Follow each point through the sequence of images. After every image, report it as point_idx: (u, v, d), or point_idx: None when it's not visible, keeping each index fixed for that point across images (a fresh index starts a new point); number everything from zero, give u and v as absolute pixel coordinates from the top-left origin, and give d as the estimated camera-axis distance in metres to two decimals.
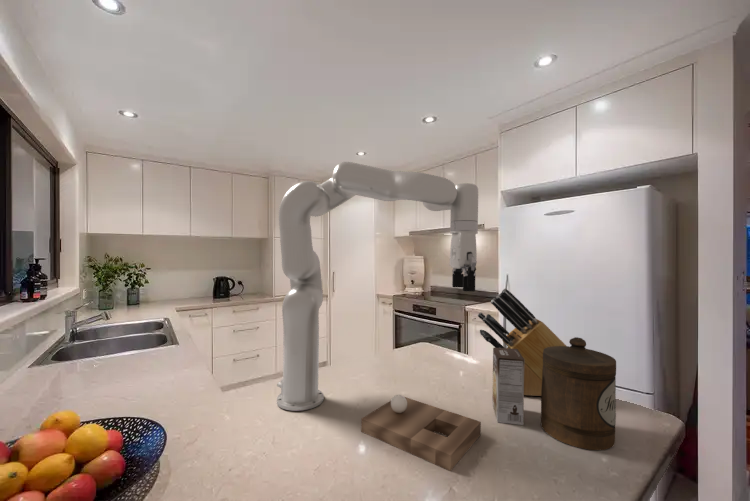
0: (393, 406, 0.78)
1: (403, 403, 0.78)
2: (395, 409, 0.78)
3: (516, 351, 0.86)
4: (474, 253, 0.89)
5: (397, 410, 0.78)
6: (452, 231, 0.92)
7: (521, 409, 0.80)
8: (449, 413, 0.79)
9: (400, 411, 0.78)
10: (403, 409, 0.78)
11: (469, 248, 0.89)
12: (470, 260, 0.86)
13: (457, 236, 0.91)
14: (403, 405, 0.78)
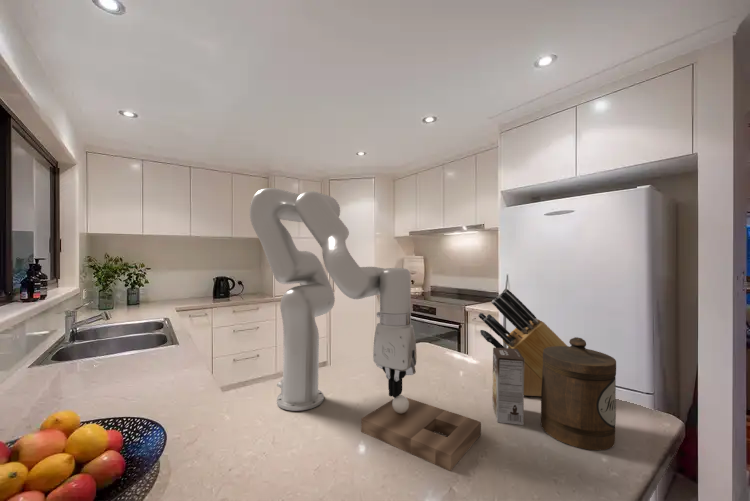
0: (395, 406, 0.78)
1: (405, 406, 0.78)
2: (396, 409, 0.78)
3: (516, 351, 0.86)
4: (415, 350, 0.79)
5: (398, 411, 0.78)
6: (390, 326, 0.77)
7: (521, 409, 0.80)
8: (449, 413, 0.79)
9: (401, 412, 0.78)
10: (404, 411, 0.78)
11: (413, 346, 0.78)
12: (410, 369, 0.77)
13: (396, 332, 0.77)
14: (405, 407, 0.78)
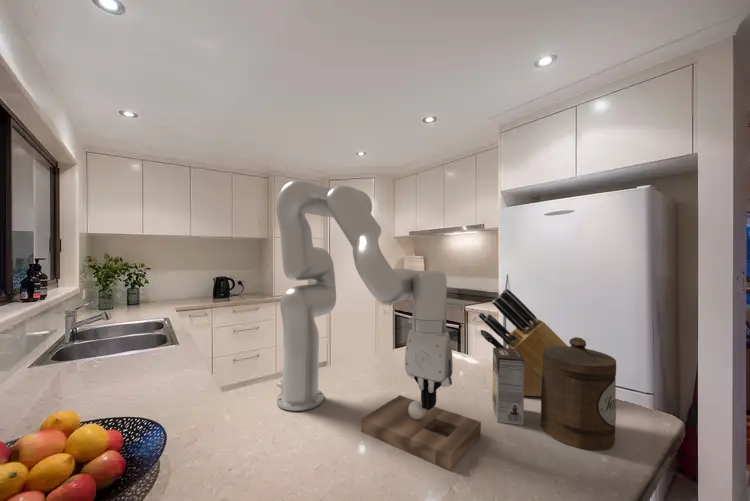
0: (413, 413, 0.75)
1: None
2: (410, 411, 0.75)
3: (516, 351, 0.86)
4: (451, 359, 0.73)
5: (409, 410, 0.76)
6: (425, 333, 0.71)
7: (521, 409, 0.80)
8: (449, 413, 0.79)
9: (408, 409, 0.77)
10: None
11: (449, 355, 0.72)
12: (446, 380, 0.72)
13: (432, 340, 0.71)
14: None
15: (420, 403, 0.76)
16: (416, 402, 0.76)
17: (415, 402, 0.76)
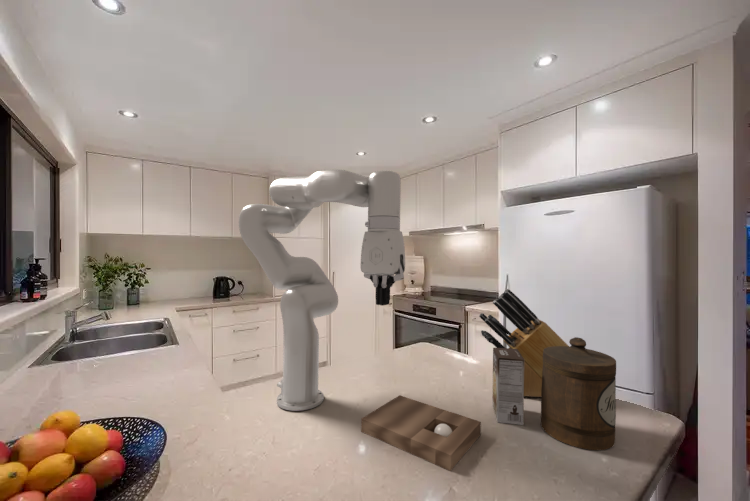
0: None
1: None
2: None
3: (516, 351, 0.86)
4: (404, 256, 0.75)
5: None
6: (378, 228, 0.74)
7: (521, 409, 0.80)
8: (449, 413, 0.79)
9: None
10: None
11: (401, 250, 0.74)
12: (398, 274, 0.74)
13: (384, 235, 0.74)
14: None
15: None
16: None
17: None
